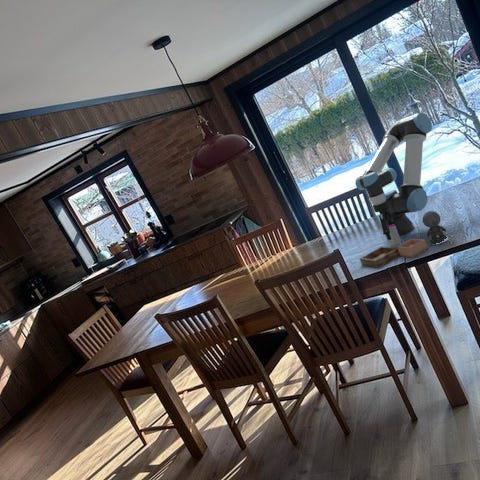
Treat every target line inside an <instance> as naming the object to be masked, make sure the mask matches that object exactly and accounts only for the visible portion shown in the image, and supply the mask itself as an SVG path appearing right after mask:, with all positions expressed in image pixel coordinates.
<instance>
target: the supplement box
mask: <svg viewBox="0 0 480 480" xmlns="http://www.w3.org/2000/svg"><path fill="white" fill-rule="evenodd" d="M389 230H390V232H391V235H392V237H393V240H394V243H395V245H391V246H389V247H393V248H397V247H398V246H399V245H401V244H403V242H402V239H401V237H400V235H399V234H398V231H397V229H396V226H395V225H394V224H392V225H389Z"/></svg>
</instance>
